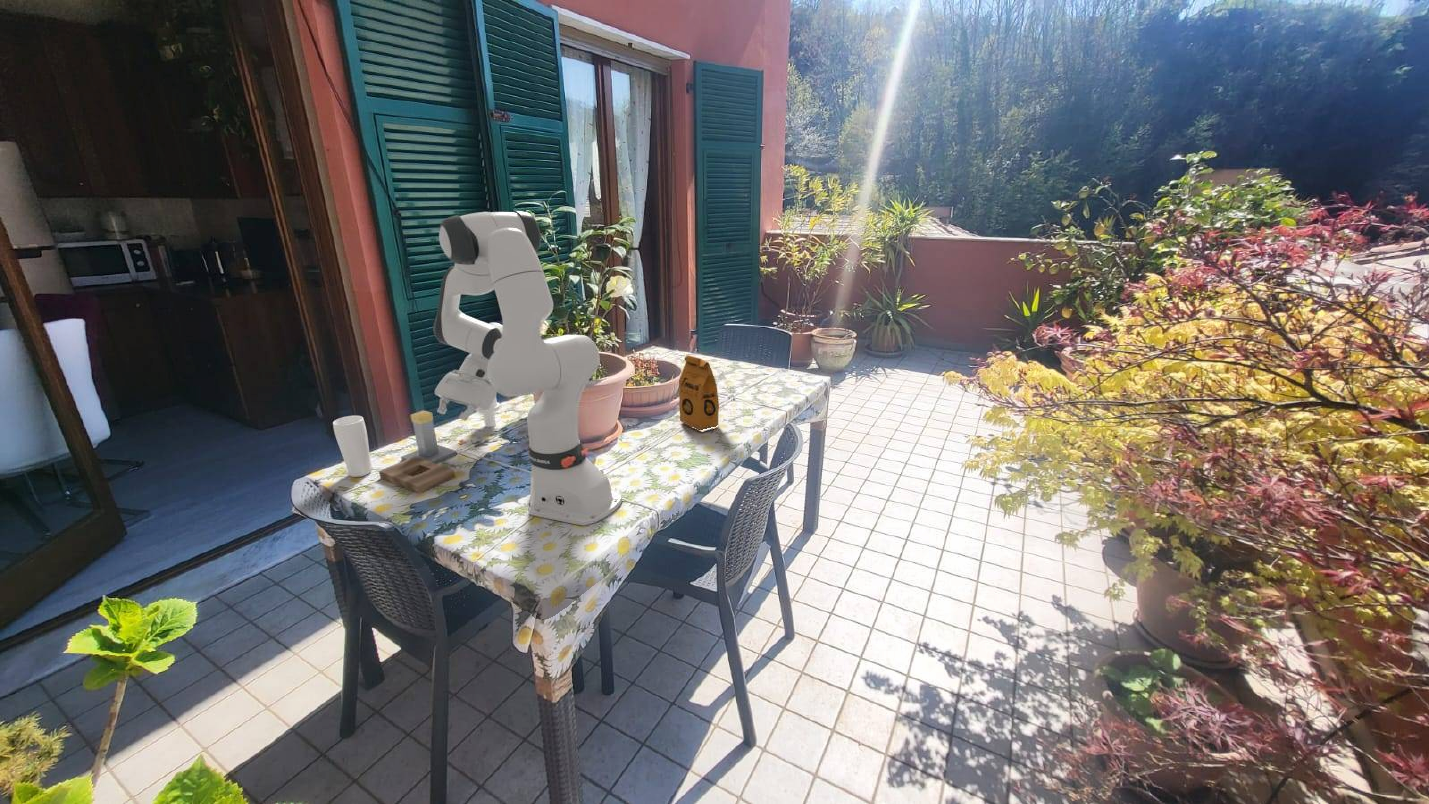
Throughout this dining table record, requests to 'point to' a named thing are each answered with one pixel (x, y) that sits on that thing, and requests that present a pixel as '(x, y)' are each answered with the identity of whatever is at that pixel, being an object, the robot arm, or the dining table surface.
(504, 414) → the dining table surface
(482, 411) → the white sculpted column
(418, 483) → the plate
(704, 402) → the coffee package
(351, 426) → the drinking glass
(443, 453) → the coaster
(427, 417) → the key peg
